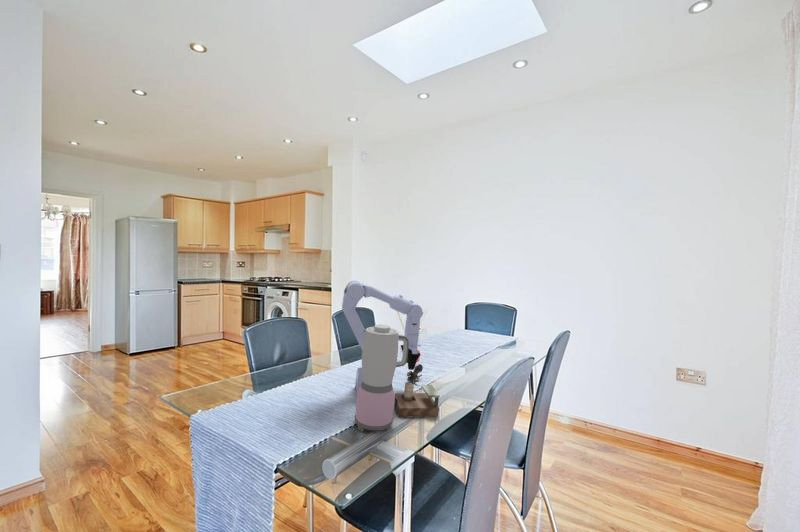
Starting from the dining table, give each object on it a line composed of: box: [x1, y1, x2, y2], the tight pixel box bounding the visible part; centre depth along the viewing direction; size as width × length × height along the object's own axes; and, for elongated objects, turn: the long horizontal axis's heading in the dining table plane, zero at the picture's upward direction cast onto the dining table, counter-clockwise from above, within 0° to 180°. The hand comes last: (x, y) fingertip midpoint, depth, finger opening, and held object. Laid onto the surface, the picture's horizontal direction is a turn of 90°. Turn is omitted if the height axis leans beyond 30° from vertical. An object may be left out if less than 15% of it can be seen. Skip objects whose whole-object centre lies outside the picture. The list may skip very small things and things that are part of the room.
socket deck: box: [394, 384, 440, 418], centre depth 127 cm, size 14×12×7 cm
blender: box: [354, 324, 409, 432], centre depth 113 cm, size 16×12×32 cm
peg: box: [403, 382, 415, 401], centre depth 129 cm, size 3×3×8 cm
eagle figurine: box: [406, 364, 424, 382], centre depth 155 cm, size 8×7×9 cm
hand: (408, 366), depth 143 cm, fingers open, 7 cm apart
